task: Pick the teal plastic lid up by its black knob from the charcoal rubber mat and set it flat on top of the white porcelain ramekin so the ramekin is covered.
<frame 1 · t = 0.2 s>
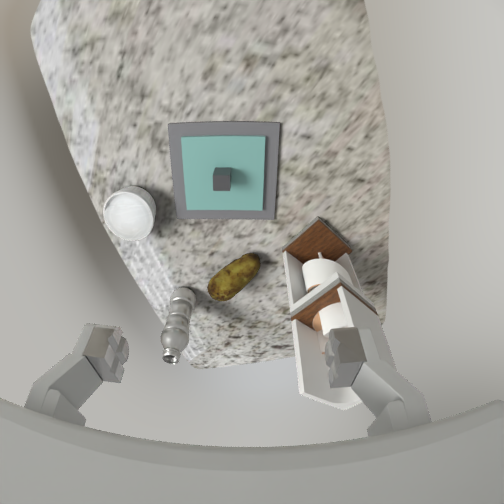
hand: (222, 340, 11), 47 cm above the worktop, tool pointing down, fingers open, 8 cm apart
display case: (316, 246, 67), on the worktop
mat: (223, 172, 56), on the worktop
potato: (235, 266, 70), on the worktop
plastic bottle: (184, 293, 75), on the worktop
lid: (223, 173, 56), point 1 cm above the worktop, touching mat
ramekin: (136, 204, 60), on the worktop
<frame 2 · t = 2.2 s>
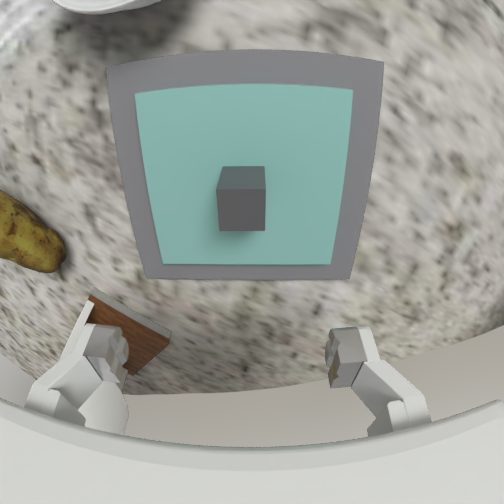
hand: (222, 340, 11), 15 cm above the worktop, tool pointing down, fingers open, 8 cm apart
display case: (117, 330, 36), on the worktop
mat: (244, 177, 23), on the worktop
potato: (28, 210, 25), on the worktop
lid: (244, 180, 23), point 1 cm above the worktop, touching mat
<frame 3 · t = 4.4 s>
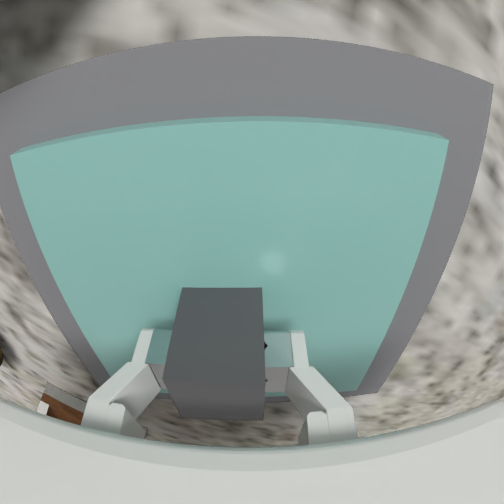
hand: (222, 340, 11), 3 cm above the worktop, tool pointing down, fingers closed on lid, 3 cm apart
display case: (85, 417, 25), on the worktop
mat: (225, 291, 13), on the worktop
lid: (225, 300, 13), point 1 cm above the worktop, touching gripper, mat
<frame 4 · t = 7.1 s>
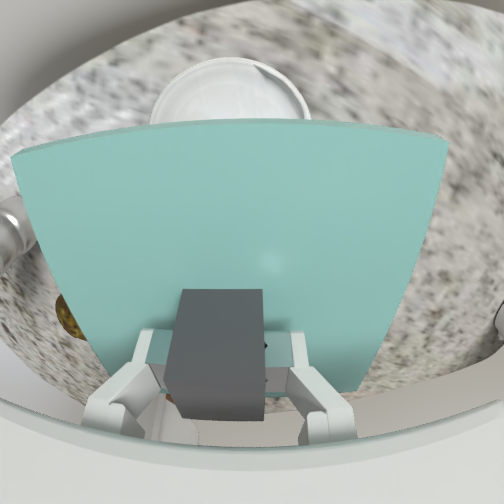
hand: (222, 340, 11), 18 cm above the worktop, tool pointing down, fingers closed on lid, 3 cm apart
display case: (180, 375, 47), on the worktop
potato: (115, 298, 36), on the worktop
plastic bottle: (28, 212, 28), on the worktop
lid: (226, 301, 13), point 16 cm above the worktop, touching gripper
ramekin: (234, 121, 23), on the worktop
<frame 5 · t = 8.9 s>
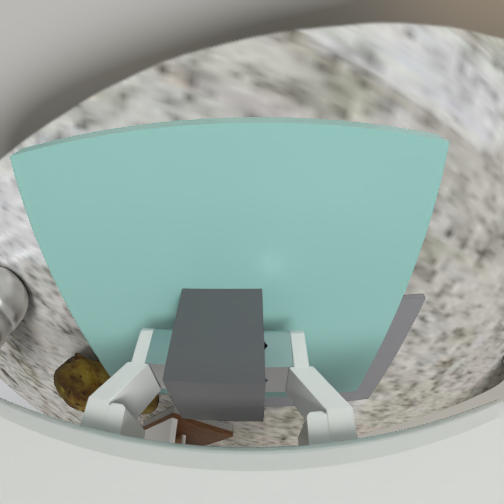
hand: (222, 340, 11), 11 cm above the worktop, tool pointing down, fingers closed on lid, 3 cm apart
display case: (186, 423, 43), on the worktop
mat: (308, 363, 31), on the worktop
potato: (115, 363, 33), on the worktop
plastic bottle: (12, 280, 25), on the worktop
lid: (225, 301, 13), point 9 cm above the worktop, touching gripper
when the fingers open (8 cm above the worktop, at t = 10.2 s): lid drops 1 cm, resting on ramekin.
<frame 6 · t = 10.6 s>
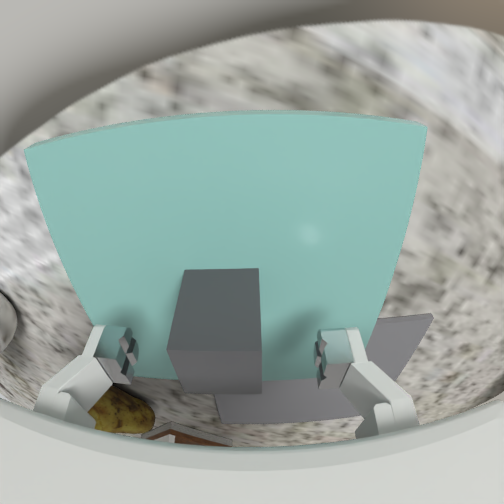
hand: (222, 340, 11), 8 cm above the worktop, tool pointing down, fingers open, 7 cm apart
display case: (184, 437, 41), on the worktop
mat: (309, 383, 29), on the worktop
potato: (109, 381, 31), on the worktop
plastic bottle: (0, 298, 23), on the worktop
lid: (225, 283, 14), point 5 cm above the worktop, touching ramekin
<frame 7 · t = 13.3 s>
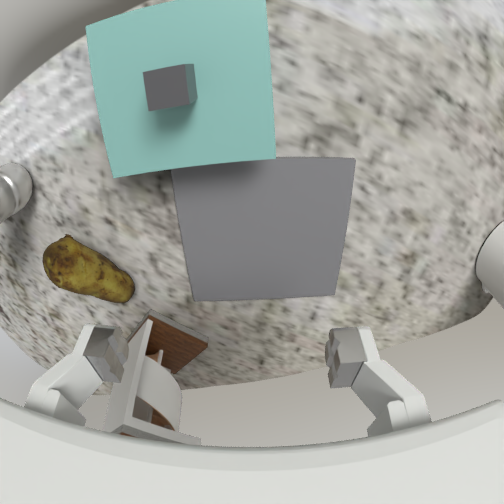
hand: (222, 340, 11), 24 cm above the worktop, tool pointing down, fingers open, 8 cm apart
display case: (164, 339, 49), on the worktop
mat: (264, 236, 37), on the worktop
potato: (98, 255, 38), on the worktop
plastic bottle: (21, 179, 30), on the worktop
lid: (179, 82, 22), point 5 cm above the worktop, touching ramekin
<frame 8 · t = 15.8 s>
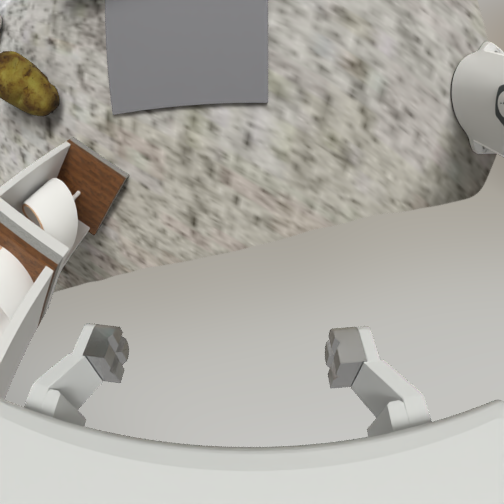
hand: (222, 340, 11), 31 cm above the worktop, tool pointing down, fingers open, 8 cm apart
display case: (86, 184, 40), on the worktop
mat: (183, 30, 28), on the worktop
potato: (37, 80, 30), on the worktop
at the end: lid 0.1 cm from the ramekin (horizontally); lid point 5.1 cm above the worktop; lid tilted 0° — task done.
